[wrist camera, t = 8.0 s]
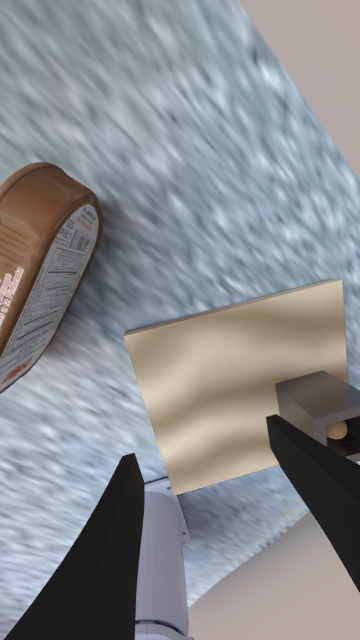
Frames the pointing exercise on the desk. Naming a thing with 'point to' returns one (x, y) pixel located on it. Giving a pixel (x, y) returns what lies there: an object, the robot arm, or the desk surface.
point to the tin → (40, 259)
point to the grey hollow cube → (322, 409)
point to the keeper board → (234, 378)
